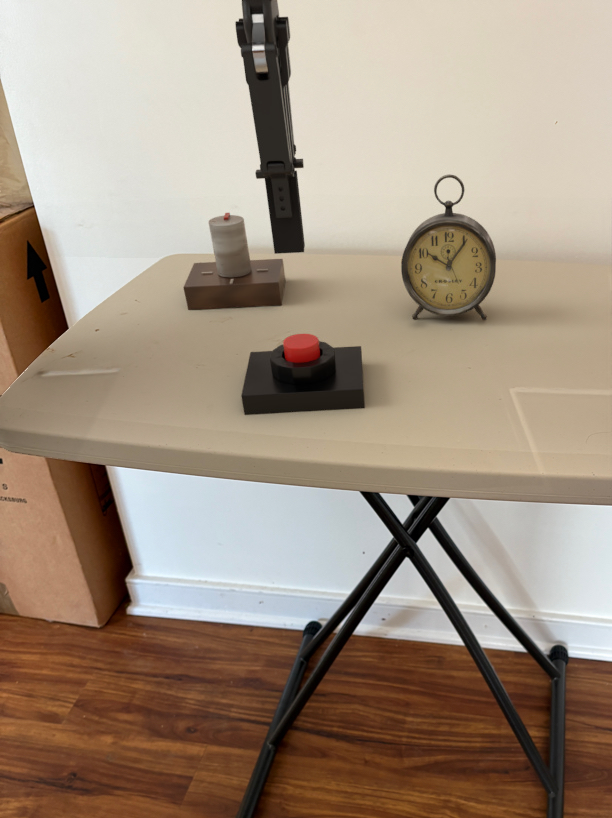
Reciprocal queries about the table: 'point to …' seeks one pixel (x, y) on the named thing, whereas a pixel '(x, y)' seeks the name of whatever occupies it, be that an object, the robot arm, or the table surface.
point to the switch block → (304, 381)
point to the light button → (301, 348)
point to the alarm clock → (449, 262)
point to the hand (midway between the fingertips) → (289, 249)
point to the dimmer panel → (235, 286)
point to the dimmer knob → (230, 245)
